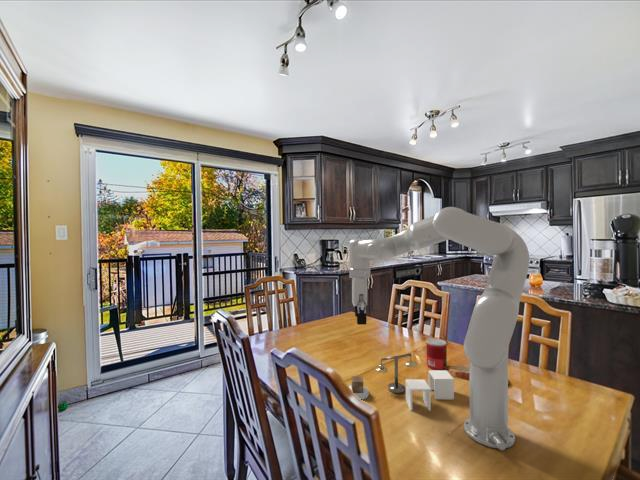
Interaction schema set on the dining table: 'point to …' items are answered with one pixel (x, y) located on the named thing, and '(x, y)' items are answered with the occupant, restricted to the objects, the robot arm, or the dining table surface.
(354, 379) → the block
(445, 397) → the cover
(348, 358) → the dining table surface
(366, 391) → the dish
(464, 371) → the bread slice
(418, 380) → the cover
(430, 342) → the canned food
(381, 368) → the balance
